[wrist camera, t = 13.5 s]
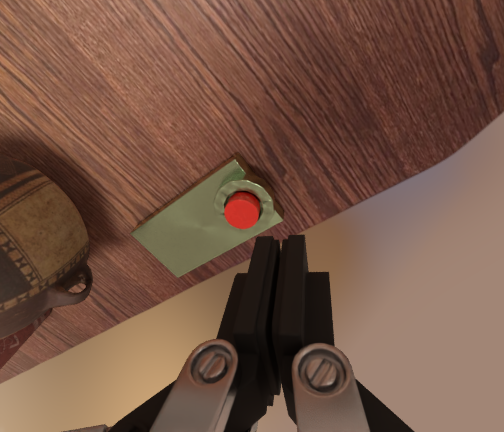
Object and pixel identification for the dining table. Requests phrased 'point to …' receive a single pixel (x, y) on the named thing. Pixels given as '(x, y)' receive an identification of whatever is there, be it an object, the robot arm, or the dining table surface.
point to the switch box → (206, 218)
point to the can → (18, 339)
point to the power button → (242, 210)
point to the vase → (37, 247)
